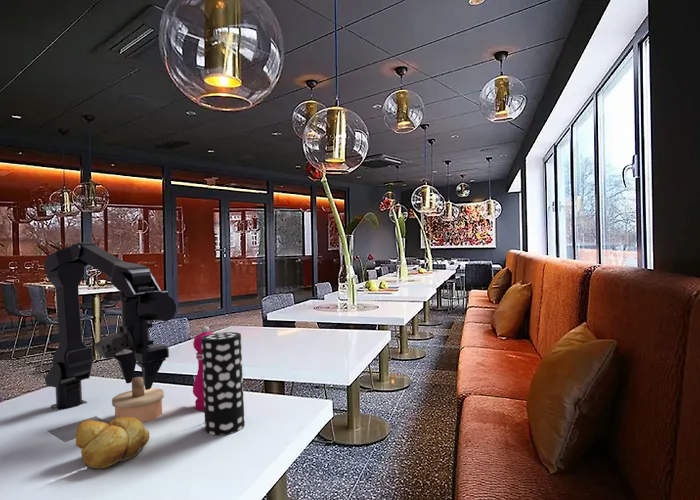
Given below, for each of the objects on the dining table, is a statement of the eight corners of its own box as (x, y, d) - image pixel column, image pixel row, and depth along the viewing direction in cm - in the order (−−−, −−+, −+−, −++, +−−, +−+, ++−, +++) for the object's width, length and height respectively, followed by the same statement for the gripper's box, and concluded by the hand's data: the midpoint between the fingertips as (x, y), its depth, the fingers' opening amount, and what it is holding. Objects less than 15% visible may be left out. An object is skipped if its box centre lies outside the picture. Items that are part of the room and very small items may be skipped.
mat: (47, 433, 99) (47, 430, 99) (96, 418, 106) (95, 416, 106) (65, 444, 92) (65, 441, 92) (115, 427, 100) (115, 425, 100)
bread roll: (139, 439, 94) (138, 401, 94) (163, 451, 88) (162, 410, 88) (71, 463, 84) (69, 421, 84) (93, 479, 78) (91, 433, 78)
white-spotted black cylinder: (252, 422, 100) (248, 333, 100) (227, 437, 93) (223, 340, 92) (223, 418, 104) (219, 331, 103) (196, 432, 96) (192, 338, 96)
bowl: (108, 420, 105) (107, 402, 105) (149, 407, 112) (148, 390, 112) (128, 430, 99) (127, 410, 99) (170, 415, 106) (169, 397, 106)
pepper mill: (214, 411, 108) (211, 328, 108) (187, 410, 109) (184, 328, 109) (228, 401, 115) (225, 323, 115) (203, 400, 116) (199, 323, 116)
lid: (103, 402, 105) (102, 380, 105) (149, 389, 113) (148, 369, 113) (125, 411, 98) (124, 388, 98) (172, 397, 106) (171, 376, 106)
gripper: (81, 322, 105) (84, 388, 105) (118, 328, 93) (121, 403, 93) (129, 315, 114) (132, 376, 114) (168, 320, 102) (171, 389, 102)
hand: (138, 386), depth 105 cm, fingers open, 9 cm apart
